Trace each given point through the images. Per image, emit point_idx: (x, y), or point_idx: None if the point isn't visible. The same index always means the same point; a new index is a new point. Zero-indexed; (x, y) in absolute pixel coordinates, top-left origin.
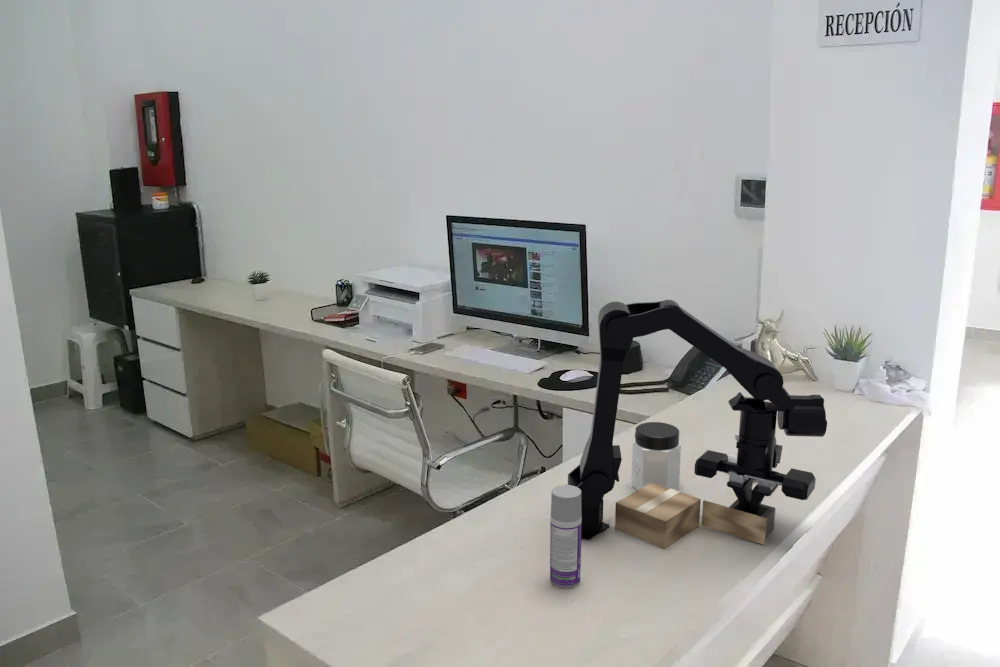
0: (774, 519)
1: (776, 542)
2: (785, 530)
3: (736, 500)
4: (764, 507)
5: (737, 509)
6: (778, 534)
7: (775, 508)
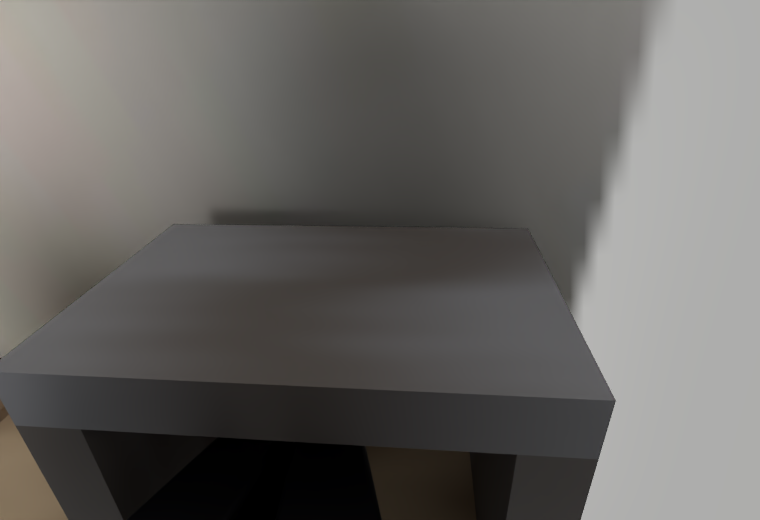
0: (555, 287)
1: (569, 305)
2: (607, 45)
3: (38, 460)
4: (437, 438)
5: (163, 454)
6: (557, 172)
7: (611, 394)
